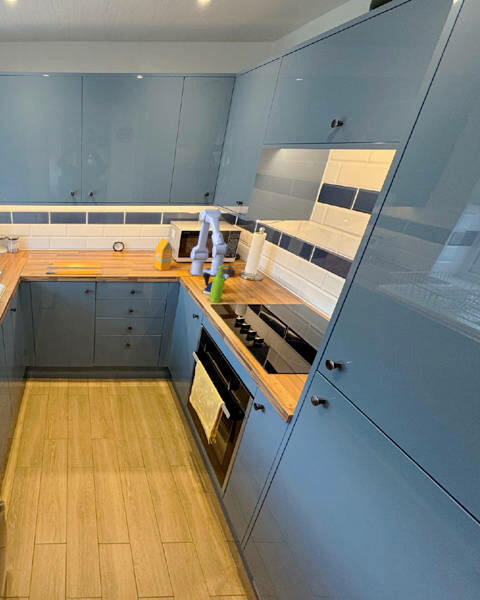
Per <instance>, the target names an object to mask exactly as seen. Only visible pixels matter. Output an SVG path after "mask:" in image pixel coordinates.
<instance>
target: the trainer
mask: <svg viewBox="0 0 480 600" xmlns="http://www.w3.org/2000/svg"><path fill="white" fill-rule="evenodd" d="M211 287H212V281H209V283H208V284H207V286H205V288H204V289H203V291H202V292H203V294H206V295H209V296H210V292H211Z"/></svg>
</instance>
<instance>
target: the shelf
mask: <svg viewBox="0 0 480 600" xmlns="http://www.w3.org/2000/svg"><path fill="white" fill-rule="evenodd" d="M228 266H229V267H227V268H223V270H222V271H223V272H224V274H227V275H229V277H228V278H234V277H235V273H236V270H235V269H234V267H233V266H232V265H231V264H228ZM206 269H207V270H211V267H206ZM210 277H215V275H211V274H210Z"/></svg>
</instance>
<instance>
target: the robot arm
mask: <svg viewBox="0 0 480 600" xmlns="http://www.w3.org/2000/svg"><path fill="white" fill-rule="evenodd" d="M221 217H222V211H221V209H220V208H217V209H216V208H215V209H214V208H213V209H209V208H208V209H205V208H203V209H202V210H201V212H200V216H199V221H200V222H201V225H200V229H199V230H200V231H199V236H198V241H197V245H196V246H194V247H192V249H191V252H190V260H191V266H190V269H189V273H190V275H191V276H203V279H204V286H205V287H207V284H209V283H210V278H211V276H210V274H211V275H215V276H216V274H217V271H219V267H218V266H220V265H224V259H225V255H227V253H228V250H229V248H228V244H227V243H226V242H225V240H224V234H223V233H222V232H221V231H220V219H221ZM210 228H211V231H212V235H211V242H212V245H213V247H212V249H211V250H212V254H211V255H212V259H211V260H212V261H211V266H210V268H211V270H207V268H204V265H205V262H206V261H207V260H208V259H209V249H208V247H207V242H208V238H209V232H210ZM215 276H214V277H215ZM223 278H225V281H226V280H228V279H229V278H230V277H229V275H227V274H223Z"/></svg>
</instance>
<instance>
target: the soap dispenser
mask: <svg viewBox="0 0 480 600" xmlns="http://www.w3.org/2000/svg"><path fill="white" fill-rule="evenodd" d="M218 267H219V271H217V274H216V276H212V281H211V282H212V287H211V292H210V295H209V299H208V300H209V301H210V302H212V303H214V304H217V303H220V302H221V301H222V296H223V292H224V287H225V286H224V285H225V282H226V280H225V278H223V274H224V272H223V271H222V270H223V269H225V268H228V267H229V265H227V264H223V265H220V266H218Z"/></svg>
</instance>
